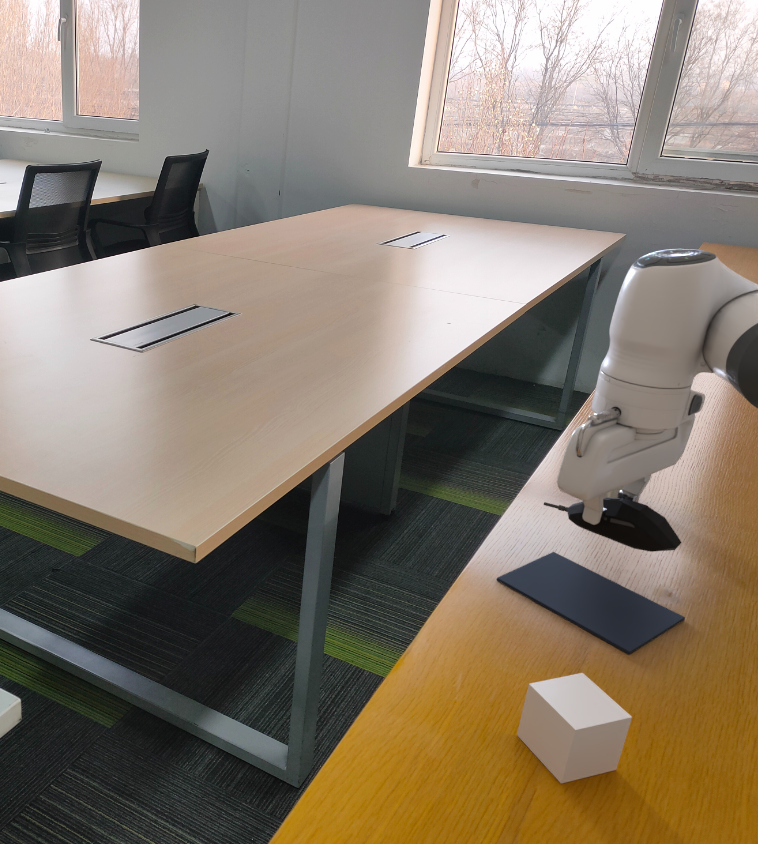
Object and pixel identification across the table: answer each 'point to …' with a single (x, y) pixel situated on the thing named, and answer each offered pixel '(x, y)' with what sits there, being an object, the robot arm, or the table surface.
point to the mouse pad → (592, 601)
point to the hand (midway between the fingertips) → (609, 513)
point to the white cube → (573, 727)
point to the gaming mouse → (627, 524)
